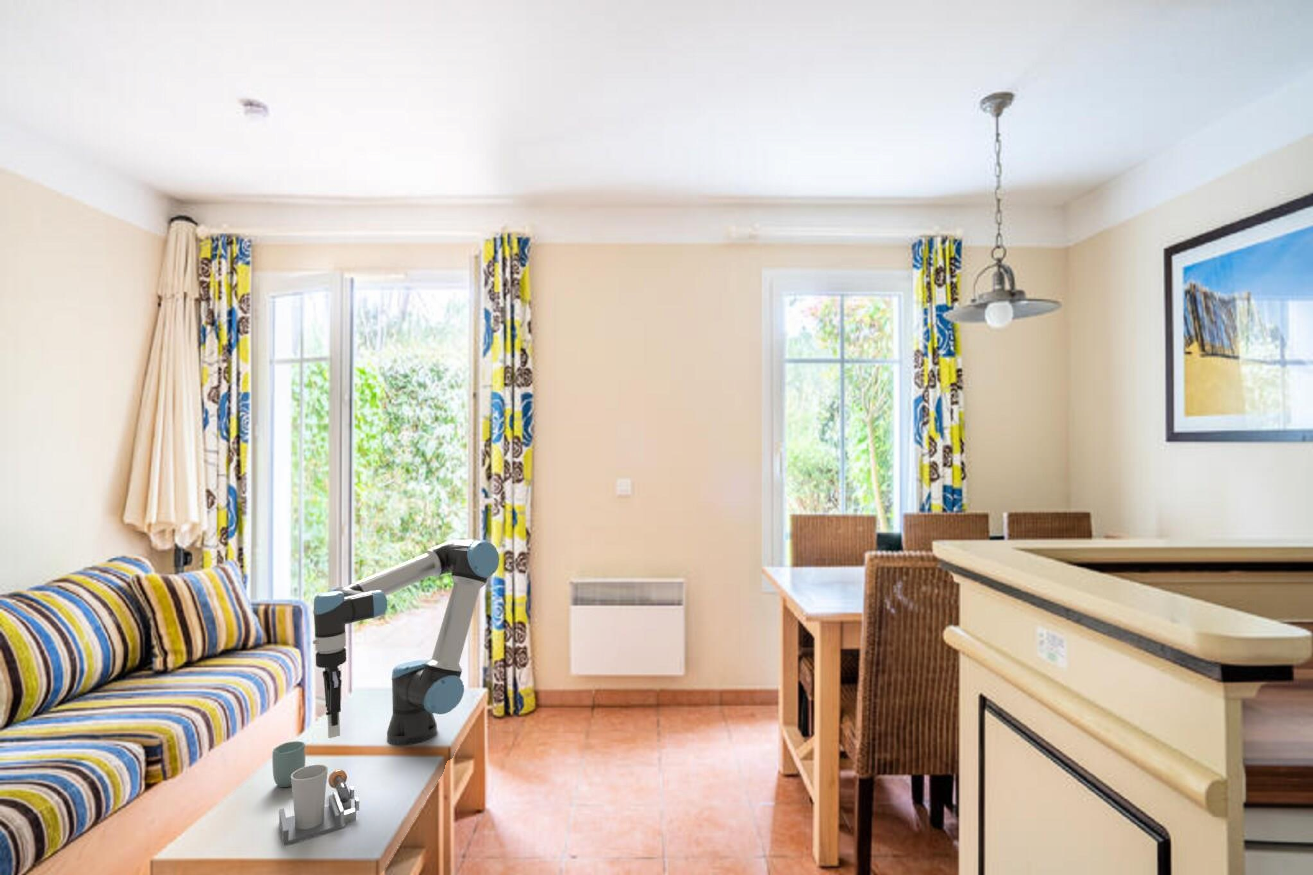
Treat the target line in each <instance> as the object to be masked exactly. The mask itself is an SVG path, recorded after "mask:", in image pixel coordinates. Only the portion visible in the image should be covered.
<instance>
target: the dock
mask: <svg viewBox="0 0 1313 875" xmlns="http://www.w3.org/2000/svg"><path fill="white" fill-rule="evenodd" d="M278 814H279V815H278V816H279V818H278V819H279V820H278V822H279V828H280V834H281V839H282V844H283V847H284V846H288V845H290V844H294V843H297V842H301V841H305V840H308V839H311V838H314V837H317V836H320V835H324V834H327V833H330V832H334V831H337V830H341V829H342V828H341V815H340V812H339V809H338V807H337V804H336V801H335V799H334V796H333V794H331V795H328V805H326V806H324V821H323V822H322V823H321V824H319V825H318V826H316V827H313V828H309V829H297V828H296V827H295V815H292V816H289V817H287V816H286V812H285V808H284V807H283V808H280V809H278Z"/></svg>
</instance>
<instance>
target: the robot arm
mask: <svg viewBox="0 0 1313 875" xmlns="http://www.w3.org/2000/svg"><path fill="white" fill-rule="evenodd" d="M499 564H500V555H499V551H498V550H497V547H496V546H495V545H494V544H493V543H492V542H490V541H486V540H484V539H483V540H482V539H472V538H471V539H470V538H469V539H468V538H467V539H466V538H455V539H454V538H453V539H451V540H448V541H445V542H442V543H441V544H438V545H435V546H433V547H431V548H428V549H426V550H425V551H424V552H423V554H421V555H419V556H417V557H414V558H412V559H410V560H407V561H404V562H403V563H400V564H398V565H395V566H392V567H390V568H388V569H385V570H383V571H381V572H379V573H376V574H372V575H371V576H368V577H367V578H363V579H361V580H358V581H357V582H356V581H355V582H354V583H351V584H348V585H346V586H344V587H341V586H339V587H331V588H329V589H328V590H327V591H326V592H321V593H318V594H317V595H315V597H314V598H313V611H312V612H313V613H312V614H313V620H314V621H313V622H314V640H312V644H313V645H314V646H315V652H316V653H315V665H316V667H317V668H322V669H324V670H323V671H322V677H323V685H324V697H325V698H324V700H325V708H326V712H325V715H326V716H327V737H328V738H329V739H332V738H336V737H340V736H341V728H340V726H341V723H340V713H341V712H342V711H341V710H342V708H341V704H342V703H341V701H342V699H341V698H342V696H341V695H342V681H343V680H342V679H341V677H342V671H341V670H340V669H339V666H340V665H343V664H346V662H347V649H346V648H345V647H346V646H347V637H346V636H347V635H346V625H348V624H354V623H357V622H361V621H365V620H369V619H375V618H378V617H381V616H383V615H384V614H386V612H387V609H388V598H387V596H390V595H391V594H394V593H395V592H397V591H400V590H403V589H404V588H407V587H409V586H412V585H414V584H416V583H418V582H421V581H423V580H425V579H427V578H430V577H433V578H437V577H439V576H443V575H445V574H450V578H451V580H452V582H453V584H452V588H451V592H450V596H449V597H448V602H447V605H446V607H445V612H444V615H443V618H442V622H441V626H440V629H439V632H438V636H437V639H436V641H435V646H434V649H433V653H432V656H431V658H430V659H422V660H421V659H420V660H412V661H407V662H404V663H401V664H398V665H396V666H395V667H394V668H393V669H392V674H391V686H392V687H391V691H392V692H391V693H392V697H391V698H392V715H391V719H390V722H389V725H388V727H387V731H386V741H387V742H388V743H390V744H393V745H397V746H398V745H401V746H402V745H413V744H418V743H421V742H424V741H427V740H430V739H431V738H433V737H434V736H436V734H437V733H438V728H437V727H438V725H437V720H436V719H435V715H434V714H437V715H445V714H448V713H450V712H452V710H453V709H456V707H457V706H458V705H459V704H460V703H461V701H462V699H463V696H464V692H465V685H464V684H463V683H464V682H463V681H462V679H461V675H462V673H463V672H462V671H463V669H462V667H461V666H460V660H461V657H462V655H463V650H464V646H465V643H466V640H467V636H468V633H469V629H470V627H471V621H472V618H473V614H474V611H475V609H476V608H475V607H476V604H477V601H478V597H479V595H480V594H479V593H480V590H481V588H483V587H484V586H486V585H487V582H488V578H490V577H491V576H493V575H494V574H495V573H496V571H498V568H499Z"/></svg>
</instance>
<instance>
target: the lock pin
mask: <svg viewBox="0 0 1313 875" xmlns="http://www.w3.org/2000/svg"><path fill="white" fill-rule="evenodd" d="M345 771H346V770H345ZM345 771H344V770H343V769H337V770H334V771H332V772H331V774H329V777H328V778H327V783H328V785H329V787H330V788H333V789H335V791H337V794H338V796H339V799H340V801H341V802H342V803H346V802H348V801H349V800H350V797H351V796H350V790H349V789H348V786H347V784H346V782H347V780H348V775H347V772H345Z"/></svg>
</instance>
